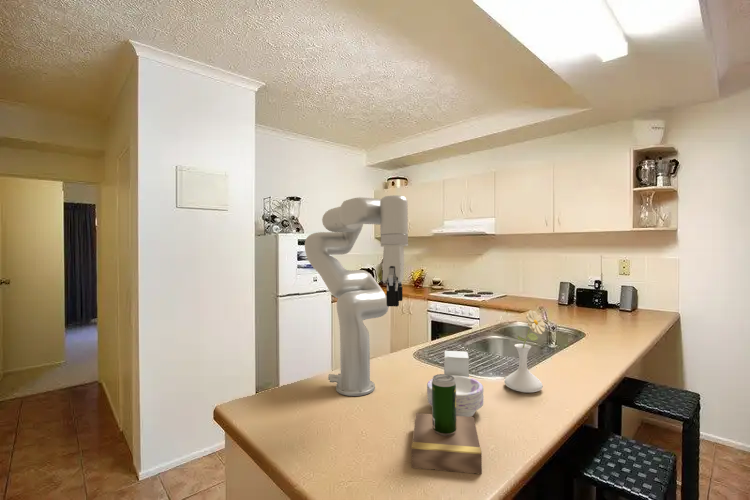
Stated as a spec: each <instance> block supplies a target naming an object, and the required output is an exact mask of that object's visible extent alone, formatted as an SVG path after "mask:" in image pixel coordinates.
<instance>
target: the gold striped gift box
mask: <svg viewBox="0 0 750 500" xmlns="http://www.w3.org/2000/svg"><path fill="white" fill-rule="evenodd" d="M475 421H476V420H475V417H474V416H471V417H465V416H456V427H457V428H456V432H455V433H454V434H453V435H451V436H441V435H438V434H436V433H435V432H434V429H433V427H432V413H419V412H417V413H415V419H414V426H413V427H414V428H413V434H412V435H413V436H412V441H411V442H412V443H411V469H421V468H423V470H431V469H435V470H434V471H442V470H446V471H445V472H453V473H454V472H456V473H463V472H465V473H466V474H474V473H479V474H478V475H482V474H483V471H482V467H483V466H482V462H483V460H482V459H483V458H482V449H481V448H482V447H481V445H480V440H479V436H478V431H477V427H476V422H475Z"/></svg>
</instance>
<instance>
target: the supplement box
mask: <svg viewBox="0 0 750 500" xmlns="http://www.w3.org/2000/svg"><path fill="white" fill-rule="evenodd" d="M443 358H444V359H443V361H444V362H443V365H444V366H443V367H444V368H443V374H447V375H456V376H465V377H469V378H470V357H469V353H468V351H462V350H461V351H459V350H444V357H443Z"/></svg>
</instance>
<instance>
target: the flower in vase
mask: <svg viewBox="0 0 750 500" xmlns="http://www.w3.org/2000/svg"><path fill="white" fill-rule="evenodd" d="M525 317H526V322H527V326H528V327H529V328H528V331H527V334H526V337H524V338H523V337H522V336H520V335H517V340H519V341H522V342H523V343H516V344H514V347H515V349H516V350H517V354H518V360H519V363H518V365H519V366H518V367H517V369H516V370H515V371H513V372H512V373H510V374H508V375H507V376H506V377H505V378H504V384H505V386H506V387H508V388H509V389H511V390H513V391H515V392H519V393H520V392H521V393H535V392H539V391H541V390H542V389H543V388H544V385H543V382H542V381H541V380H540V379H539V378H538V377H537V376H536V375H535V374H533V373H532V372H531V371H530V370H529V369H528V353H529V352H530V350H531V348H532V346H531V345H529V344H526V342H527V339H529V340H531V341H532V342H535V341H537V340H538V339H539V337H538V335H543V333H545V331H546V327H545V326H546V323H545V322H544V320H543V318H542V316H541V315H539V314H538V312H537V311H535V310H533V311H532V310H531V309H530V310H529V311H528V313H526V316H525ZM530 331H531V332H530ZM537 334H538V335H537Z"/></svg>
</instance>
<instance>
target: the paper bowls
mask: <svg viewBox="0 0 750 500" xmlns="http://www.w3.org/2000/svg"><path fill="white" fill-rule="evenodd" d="M451 376H453V377H454V378H455V382H456V416H465V417H474V415H475V413H476V412H477V411H478V410H479V409H482V407H483V406H484V403H485V401H484V400H485V399H484V386H483V384H482V383H481V382H480V381H479V380H477V379H474V378H472V377H470V376H469V377H465V376H456V375H451ZM432 380H433V378H431V379H429V380H428V382H427V384H426V392H427V393H426V394H427V395H426V396H427V404H429V405H430V406H431V407H432Z"/></svg>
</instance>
